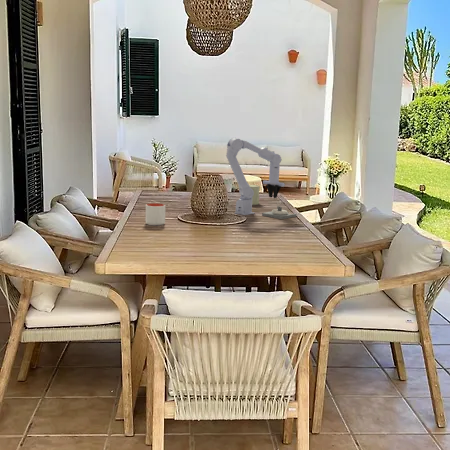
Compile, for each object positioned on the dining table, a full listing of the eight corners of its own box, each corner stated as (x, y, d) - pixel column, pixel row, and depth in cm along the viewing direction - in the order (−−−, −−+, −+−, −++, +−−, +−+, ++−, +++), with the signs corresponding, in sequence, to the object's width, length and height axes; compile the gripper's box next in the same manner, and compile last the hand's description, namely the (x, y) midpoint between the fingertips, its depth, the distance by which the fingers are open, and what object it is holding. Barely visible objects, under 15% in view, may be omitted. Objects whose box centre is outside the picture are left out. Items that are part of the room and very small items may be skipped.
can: (259, 205, 386) (260, 186, 383) (244, 204, 386) (245, 185, 384) (258, 202, 395) (259, 184, 393) (244, 202, 395) (245, 183, 393)
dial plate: (281, 219, 339) (281, 216, 339) (262, 215, 348) (262, 212, 348) (296, 216, 349) (296, 213, 349) (277, 213, 358) (277, 210, 358)
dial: (288, 214, 344) (288, 208, 344) (272, 214, 344) (272, 208, 343) (285, 211, 355) (285, 205, 354) (270, 211, 355) (270, 205, 354)
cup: (141, 224, 309) (141, 205, 307) (152, 221, 318) (153, 202, 316) (157, 226, 305) (158, 207, 303) (168, 223, 313) (169, 204, 311)
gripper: (288, 175, 350) (287, 198, 353) (268, 172, 360) (267, 195, 362) (280, 175, 345) (279, 199, 348) (261, 173, 355) (260, 196, 357)
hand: (272, 197), depth 355 cm, fingers open, 3 cm apart
